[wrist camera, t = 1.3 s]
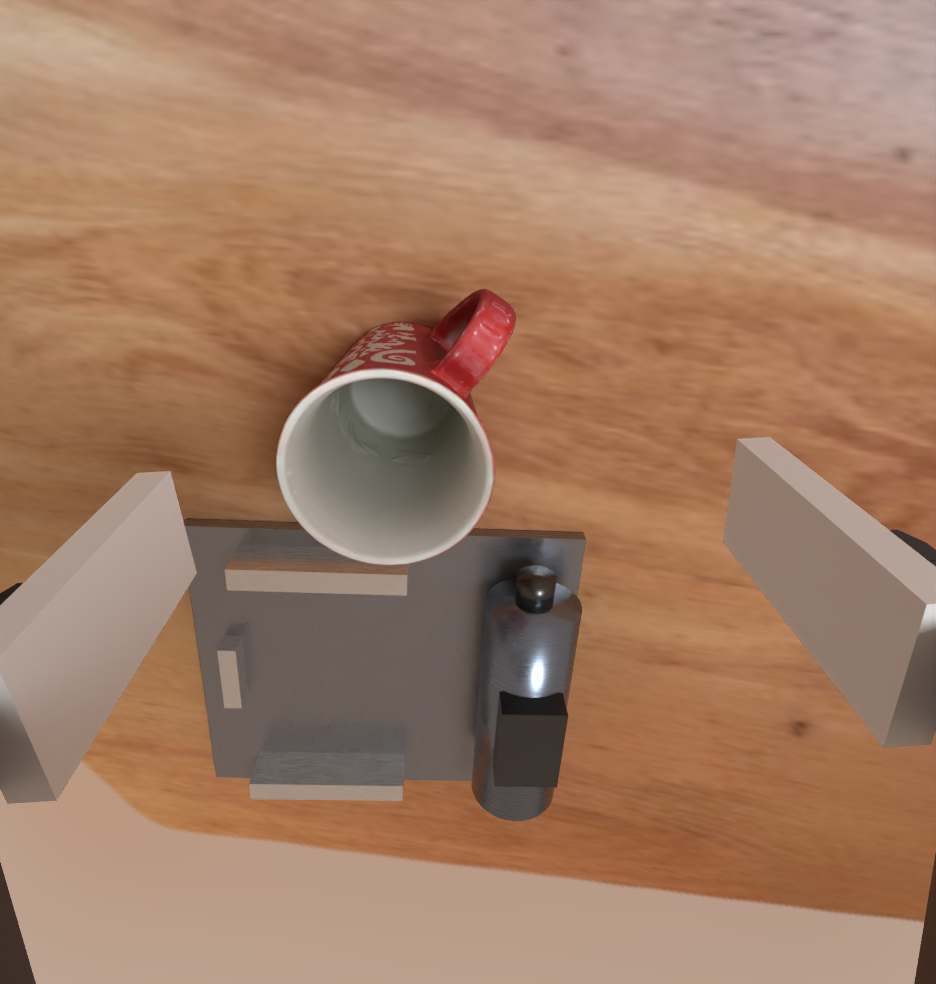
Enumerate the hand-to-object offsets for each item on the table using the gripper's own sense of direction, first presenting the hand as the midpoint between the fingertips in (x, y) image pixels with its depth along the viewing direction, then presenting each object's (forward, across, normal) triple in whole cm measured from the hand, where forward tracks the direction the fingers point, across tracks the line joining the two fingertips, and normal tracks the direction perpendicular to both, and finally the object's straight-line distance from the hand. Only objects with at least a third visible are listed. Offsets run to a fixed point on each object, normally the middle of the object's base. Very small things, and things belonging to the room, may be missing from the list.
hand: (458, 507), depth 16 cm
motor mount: (+25, -6, -24) cm, 35 cm away
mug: (+25, -2, -3) cm, 25 cm away
